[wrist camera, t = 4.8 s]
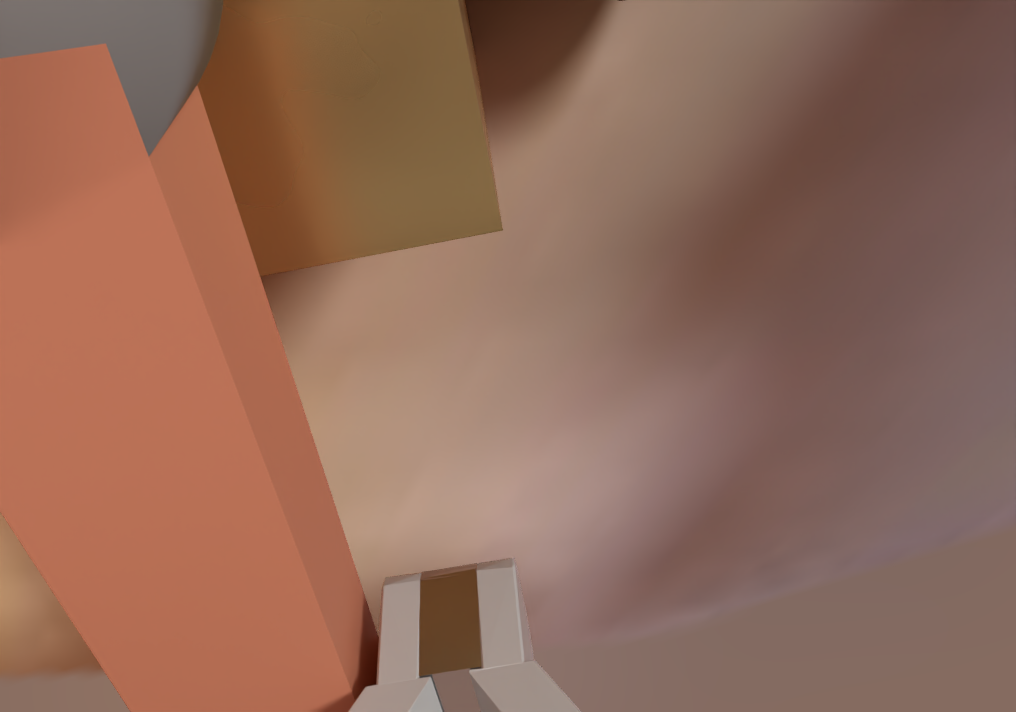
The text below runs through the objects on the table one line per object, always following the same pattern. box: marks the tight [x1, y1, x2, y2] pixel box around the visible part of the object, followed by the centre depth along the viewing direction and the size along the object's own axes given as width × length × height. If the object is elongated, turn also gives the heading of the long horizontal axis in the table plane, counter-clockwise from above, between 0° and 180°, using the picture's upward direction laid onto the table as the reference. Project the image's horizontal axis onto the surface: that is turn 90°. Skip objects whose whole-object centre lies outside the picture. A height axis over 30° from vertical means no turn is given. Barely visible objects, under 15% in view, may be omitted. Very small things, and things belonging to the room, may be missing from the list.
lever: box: [0, 0, 379, 712], centre depth 9 cm, size 4×14×2 cm, turn 7°
